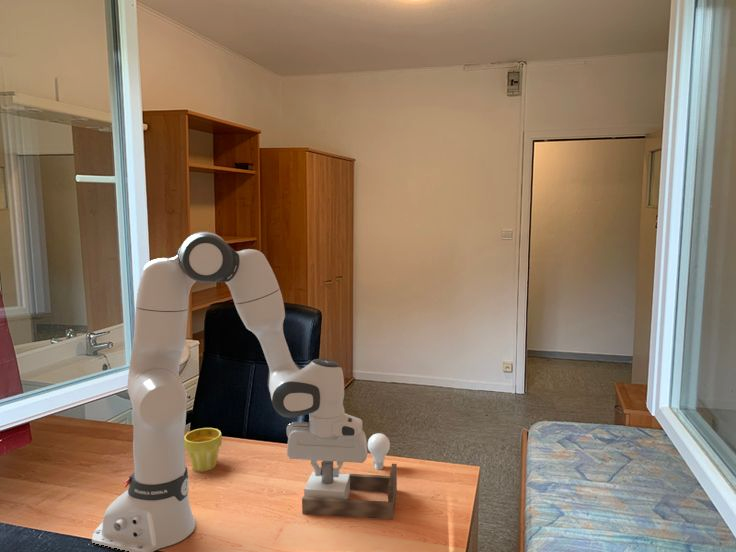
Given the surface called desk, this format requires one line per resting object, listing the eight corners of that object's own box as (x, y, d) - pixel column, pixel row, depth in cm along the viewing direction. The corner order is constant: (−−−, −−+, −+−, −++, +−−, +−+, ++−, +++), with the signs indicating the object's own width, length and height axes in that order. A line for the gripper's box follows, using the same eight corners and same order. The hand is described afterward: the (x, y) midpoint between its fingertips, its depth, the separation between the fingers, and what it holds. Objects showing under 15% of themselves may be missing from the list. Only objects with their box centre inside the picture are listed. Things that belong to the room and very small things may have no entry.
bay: (302, 517, 133) (301, 483, 132) (314, 488, 147) (314, 457, 146) (392, 523, 131) (392, 488, 130) (396, 493, 144) (396, 461, 143)
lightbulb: (390, 476, 154) (390, 438, 152) (367, 476, 154) (367, 438, 152) (389, 465, 160) (389, 429, 159) (367, 465, 160) (367, 429, 159)
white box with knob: (304, 508, 136) (303, 469, 134) (312, 489, 144) (311, 453, 143) (344, 510, 134) (343, 472, 133) (350, 492, 143) (349, 455, 142)
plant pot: (194, 478, 153) (193, 445, 152) (179, 465, 161) (178, 433, 159) (228, 467, 160) (227, 435, 158) (213, 455, 167) (211, 424, 166)
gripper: (282, 426, 135) (284, 479, 137) (365, 430, 133) (365, 484, 134) (289, 416, 141) (290, 467, 143) (368, 420, 139) (368, 472, 140)
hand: (327, 475), depth 139 cm, fingers closed on white box with knob, 3 cm apart
